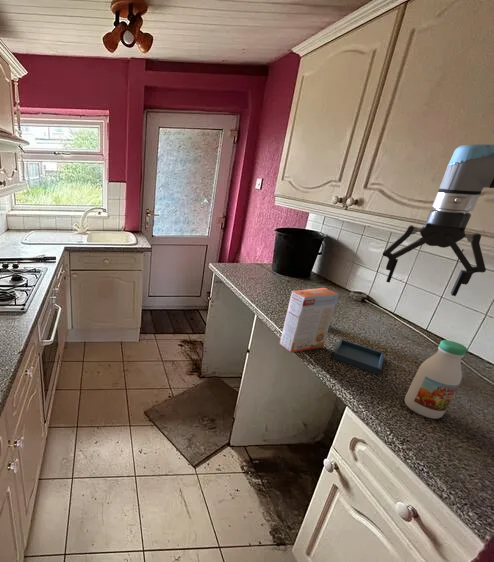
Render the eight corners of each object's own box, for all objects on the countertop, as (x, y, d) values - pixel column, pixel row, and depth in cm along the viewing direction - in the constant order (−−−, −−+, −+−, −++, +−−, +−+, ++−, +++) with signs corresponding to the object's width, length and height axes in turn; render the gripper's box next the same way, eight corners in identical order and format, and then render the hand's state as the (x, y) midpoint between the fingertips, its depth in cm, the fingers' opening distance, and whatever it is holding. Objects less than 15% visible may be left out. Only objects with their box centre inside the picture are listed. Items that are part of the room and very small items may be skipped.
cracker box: (309, 339, 114) (325, 286, 106) (323, 348, 109) (341, 293, 101) (277, 343, 111) (291, 289, 103) (290, 353, 105) (306, 297, 98)
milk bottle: (396, 401, 85) (425, 339, 78) (413, 395, 88) (443, 334, 80) (431, 423, 78) (466, 356, 71) (448, 415, 81) (484, 350, 74)
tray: (382, 357, 104) (384, 352, 104) (379, 374, 96) (381, 369, 95) (339, 343, 112) (340, 338, 111) (332, 358, 103) (334, 352, 103)
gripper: (388, 206, 84) (363, 279, 92) (531, 219, 69) (486, 305, 77) (389, 204, 89) (365, 273, 97) (522, 215, 74) (481, 296, 82)
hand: (419, 287), depth 87 cm, fingers open, 13 cm apart
